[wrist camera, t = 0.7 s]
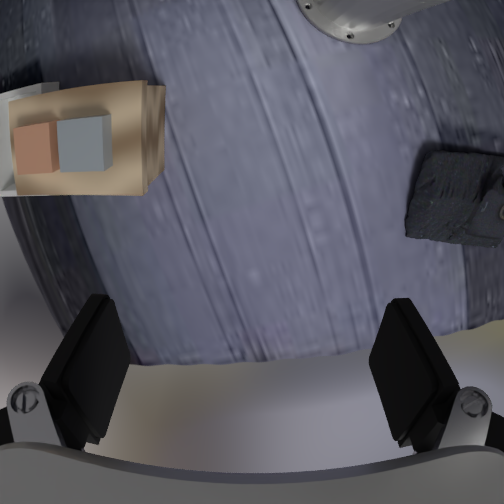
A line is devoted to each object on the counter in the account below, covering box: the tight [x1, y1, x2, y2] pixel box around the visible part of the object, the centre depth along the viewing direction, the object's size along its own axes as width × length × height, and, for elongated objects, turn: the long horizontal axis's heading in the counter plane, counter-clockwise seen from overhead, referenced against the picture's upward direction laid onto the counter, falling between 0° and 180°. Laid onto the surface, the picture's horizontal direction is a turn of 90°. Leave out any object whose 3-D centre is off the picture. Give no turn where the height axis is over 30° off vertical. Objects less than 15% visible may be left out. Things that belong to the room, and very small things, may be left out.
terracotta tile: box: [13, 119, 60, 175], centre depth 25 cm, size 5×5×2 cm
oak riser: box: [8, 80, 166, 196], centre depth 29 cm, size 11×16×8 cm, turn 86°
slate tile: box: [57, 114, 113, 172], centre depth 25 cm, size 5×5×2 cm
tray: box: [0, 82, 59, 197], centre depth 31 cm, size 14×10×4 cm
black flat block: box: [405, 150, 504, 248], centre depth 35 cm, size 15×22×5 cm
